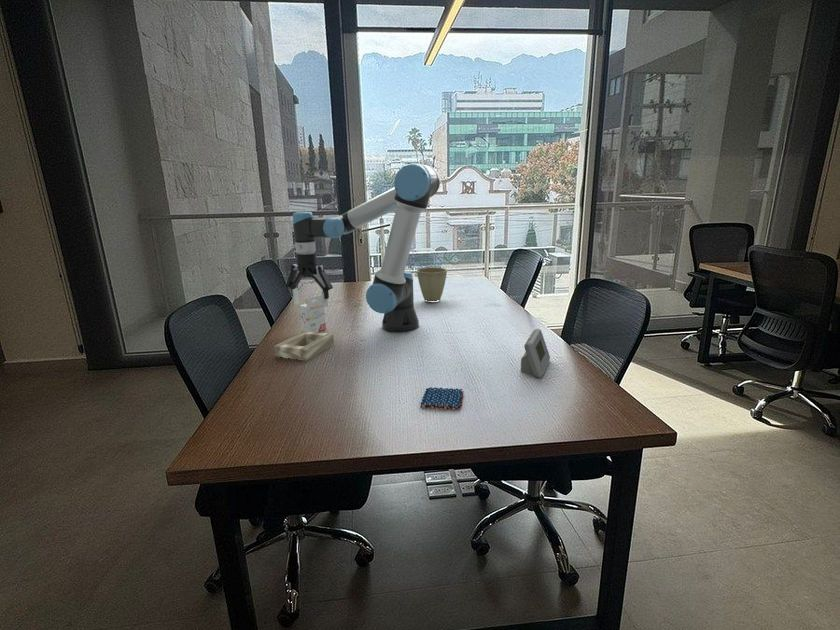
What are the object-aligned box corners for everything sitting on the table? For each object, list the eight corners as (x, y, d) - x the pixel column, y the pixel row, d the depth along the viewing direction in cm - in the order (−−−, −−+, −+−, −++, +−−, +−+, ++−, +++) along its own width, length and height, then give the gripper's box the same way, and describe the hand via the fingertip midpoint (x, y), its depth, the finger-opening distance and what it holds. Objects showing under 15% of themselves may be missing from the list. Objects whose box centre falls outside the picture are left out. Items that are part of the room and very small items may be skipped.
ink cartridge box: (318, 327, 182) (315, 293, 178) (326, 329, 179) (323, 294, 175) (302, 333, 175) (298, 297, 171) (310, 335, 172) (306, 299, 168)
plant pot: (437, 306, 208) (437, 273, 204) (412, 302, 216) (410, 271, 211) (452, 299, 220) (452, 268, 215) (428, 296, 228) (427, 266, 223)
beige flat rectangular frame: (334, 344, 161) (333, 334, 160) (307, 360, 146) (305, 349, 145) (304, 341, 165) (303, 331, 164) (275, 356, 150) (274, 346, 149)
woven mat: (461, 413, 109) (461, 405, 109) (420, 410, 111) (419, 403, 111) (464, 394, 119) (464, 387, 119) (426, 392, 121) (426, 385, 121)
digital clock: (540, 380, 125) (541, 346, 122) (511, 374, 130) (512, 340, 127) (559, 362, 137) (561, 330, 134) (532, 356, 143) (533, 326, 140)
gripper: (273, 253, 169) (279, 305, 175) (328, 255, 160) (332, 310, 166) (285, 250, 176) (291, 300, 182) (338, 252, 167) (342, 305, 173)
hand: (310, 305), depth 174 cm, fingers open, 13 cm apart
